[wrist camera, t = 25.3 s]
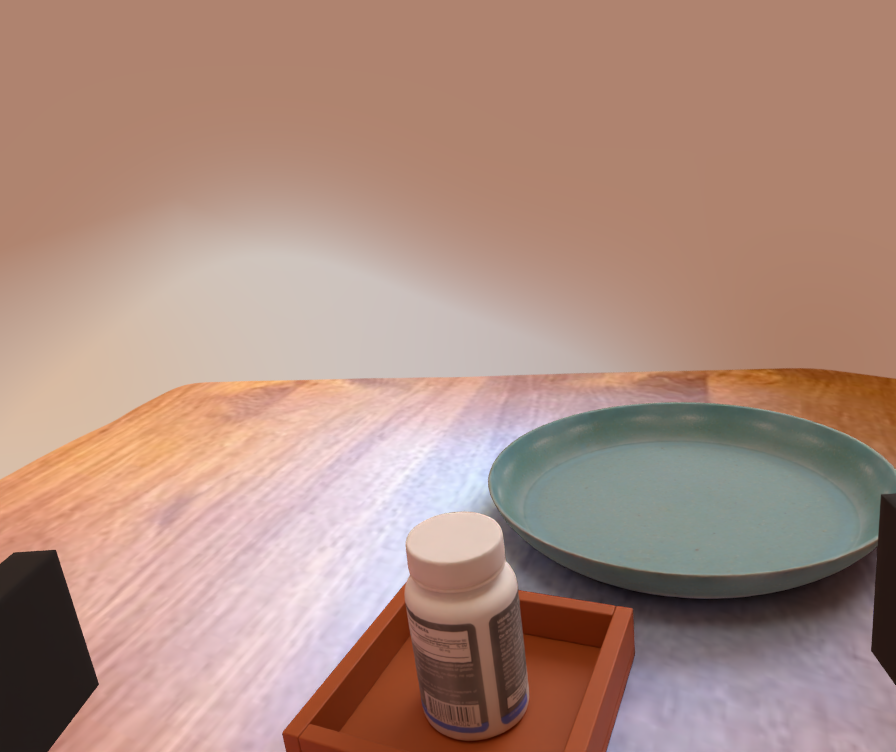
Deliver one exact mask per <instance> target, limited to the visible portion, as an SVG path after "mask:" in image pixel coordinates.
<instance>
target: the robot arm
mask: <svg viewBox="0 0 896 752" xmlns="http://www.w3.org/2000/svg"><path fill="white" fill-rule="evenodd" d="M871 651H872V652H873V654H874V655H875V657H876V658H877V660H878V661H879V662H880V664H881V665H882V667H883V668H884V669H885V671H886V672H887V674H888V675H889V677H890V678H891V679H892V681H893V682H894V684H895V685H896V493H893V494H881V500H880V516H879V533H878V549H877V565H876V581H875V597H874V614H873V630H872V646H871ZM98 685H99V683H98V680H97V677H96V674H95V671H94V668H93V664H92V661H91V658H90V655H89V652H88V649H87V646H86V643H85V639H84V636H83V633H82V630H81V627H80V624H79V621H78V618H77V615H76V611H75V608H74V605H73V602H72V599H71V596H70V593H69V590H68V587H67V583H66V580H65V577H64V574H63V571H62V568H61V565H60V562H59V558H58V555H57V552H56V550H46V551H31V552H16V553H13V554H12V555H10V556H9V557H8V558H7V559H6V560H4V561H3V562H2V563H1V564H0V752H48V751H49V749H50V748H51V747H52V745H53V744H54V743H55V741H56V740H57V739H58V738H59V736H60V735H61V734H62V732H63V731H64V730H65V728H66V727H67V726H68V724H69V723H70V722H71V720H72V719H73V718H74V716H75V715H76V714H77V713H78V711H79V710H80V709H81V707H82V706H83V705H84V703H85V702H86V701H87V699H88V698H89V697H90V695H91V694H92V693H93V691H94V690H95V689H96V688H97V686H98Z"/></svg>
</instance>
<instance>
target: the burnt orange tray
mask: <svg viewBox="0 0 896 752" xmlns="http://www.w3.org/2000/svg"><path fill="white" fill-rule="evenodd" d="M405 585H406V583H405V584H404V586H403V587H402V588H401V589H400V590H399V592H398V593H397V594H396V595H395V596H394V598H393V599H392V600H391V601H390V603H389V604H388V605H387V606H386V607H385V609H384V610H383V611H382V612H381V613H380V615H379V616H378V617H377V618H376V620H375V621H374V622H373V623H372V624H371V626H370V627H369V628H368V629H367V630H366V632H365V633H364V634H363V635H362V637H361V638H360V639H359V640H358V641H357V643H356V644H355V645H354V646H353V647H352V649H351V650H350V651H349V652H348V653H347V655H346V656H345V657H344V658H343V660H342V661H341V662H340V663H339V664H338V666H337V667H336V668H335V669H334V670H333V672H332V673H331V674H330V675H329V677H328V678H327V679H326V680H325V681H324V683H323V684H322V685H321V686H320V687H319V689H318V690H317V691H316V692H315V694H314V695H313V696H312V697H311V698H310V700H309V701H308V702H307V703H306V704H305V706H304V707H303V708H302V709H301V711H300V712H299V713H298V714H297V715H296V717H295V718H294V719H293V720H292V721H291V723H290V724H289V725H288V726H287V727H286V729H285V730H284V731H283V733H282V735H283V739H284V743H285V748H286V752H606V750H607V746H608V743H609V740H610V736H611V733H612V730H613V726H614V723H615V720H616V716H617V713H618V709H619V706H620V703H621V699H622V696H623V693H624V689H625V686H626V683H627V679H628V676H629V673H630V669H631V666H632V663H633V659H634V656H635V645H634V643H635V642H634V620H633V609H632V608H628V607H621V606H616V607H615V606H614V605H609V604H602V603H596V602H590V601H583V600H577V599H571V598H565V597H558V596H552V595H546V594H540V593H533V592H527V591H521V590H518V593H519V599H520V612H521V622H522V630H523V639H524V647H525V657H526V666H527V675H528V685H529V702H528V706H527V709H526V711H525V713H524V715H523V717H522V718H521V720H520V721H519V722H518V723H517V724H516V725H514V726H513V727H512V728H510V729H509V730H507V731H505V732H504V733H501V734H499V735H497V736H494V737H491V738H488V739H483V740H476V741H464V740H458V739H454V738H451V737H448V736H446V735H444V734H442V733H440V732H438V731H437V730H436V729H435V728H434V727H433V726H432V725H431V724H430V722H429V721H428V719H427V718H426V715H425V713H424V710H423V706H422V701H421V694H420V688H419V682H418V677H417V670H416V665H415V658H414V652H413V646H412V640H411V635H410V629H409V622H408V616H407V610H406V604H405V597H404V596H405Z"/></svg>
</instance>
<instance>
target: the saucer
mask: <svg viewBox="0 0 896 752" xmlns="http://www.w3.org/2000/svg"><path fill="white" fill-rule="evenodd" d="M488 486H489V491H490V495H491V497H492V499H493V502H494V503H495V505H496V507H497V509H498V510H499V512H500V514H501V515H502V516H503V518H504V519H505V521H506V522H507V523H508V524H509V525H510V526H511V527H512V529H513V530H514V531H515V532H516V533H517V534H518V535H519V536H521V537H522V538H523V539H524V540H525V541H526V542H528V543H529V544H530V545H531V546H532V547H534V548H535V549H536V550H538V551H539V552H541V553H542V554H544V555H545V556H547V557H548V558H550V559H552V560H553V561H555V562H557V563H559V564H561V565H563V566H564V567H566V568H568V569H571V570H573V571H575V572H577V573H580V574H582V575H584V576H587V577H589V578H592V579H595V580H598V581H600V582H603V583H607V584H610V585H613V586H617V587H620V588H625V589H629V590H633V591H637V592H643V593H648V594H654V595H661V596H670V597H681V598H701V599H716V598H738V597H748V596H755V595H762V594H769V593H774V592H778V591H783V590H788V589H791V588H795V587H799V586H802V585H805V584H808V583H811V582H814V581H817V580H820V579H822V578H825V577H828V576H830V575H833V574H835V573H837V572H839V571H841V570H843V569H845V568H847V567H848V566H850V565H852V564H853V563H855V562H857V561H858V560H860V559H861V558H863V557H864V556H866V555H867V554H868V553H870V552H871V551H872V550H874V549H875V548H876V547H877V546H878V533H879V516H880V500H881V494H893V493H896V469H895V468H894V467H893V466H892V465H891V464H890V463H889V462H888V461H887V460H886V459H885V458H884V457H883V456H882V455H881V454H879V453H878V452H877V451H875V450H874V449H872V448H871V447H869V446H867V445H866V444H864V443H862V442H860V441H859V440H857V439H855V438H853V437H851V436H849V435H847V434H845V433H843V432H840V431H838V430H835V429H833V428H830V427H827V426H824V425H822V424H819V423H816V422H813V421H809V420H806V419H803V418H799V417H796V416H792V415H788V414H783V413H779V412H774V411H768V410H763V409H757V408H751V407H744V406H736V405H726V404H715V403H696V402H680V403H678V402H665V403H645V404H632V405H624V406H616V407H609V408H603V409H598V410H593V411H588V412H584V413H580V414H576V415H572V416H569V417H565V418H562V419H559V420H556V421H553V422H551V423H548V424H546V425H543V426H541V427H538V428H536V429H534V430H532V431H530V432H528V433H526V434H524V435H523V436H521V437H519V438H518V439H516V440H515V441H514V442H512V443H511V444H510V445H509V446H508V447H506V448H505V449H504V450H503V451H502V452H501V453H500V454H499V456H498V457H497V459H496V460H495V461H494V463H493V465H492V468H491V470H490V473H489V477H488Z"/></svg>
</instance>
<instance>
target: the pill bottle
mask: <svg viewBox="0 0 896 752" xmlns="http://www.w3.org/2000/svg"><path fill="white" fill-rule="evenodd" d="M406 553H407V561H408V568H409V572H410V576H409V578H408V580H407V582H406V585H405V596H404V597H405V604H406V610H407V616H408V622H409V629H410V635H411V640H412V646H413V652H414V658H415V665H416V670H417V677H418V682H419V688H420V694H421V701H422V706H423V710H424V713H425V715H426V718H427V719H428V721H429V722H430V724H431V725H432V726H433V727H434V728H435V729H436V730H437V731H438V732H440V733H442V734H444V735H446V736H448V737H451V738H454V739H458V740H464V741H476V740H483V739H488V738H491V737H494V736H497V735H499V734H501V733H504V732H505V731H507V730H509V729H510V728H512V727H513V726H514V725H516V724H517V723H518V722H519V721H520V720H521V718H522V717H523V715H524V713H525V711H526V709H527V706H528V702H529V685H528V675H527V666H526V657H525V647H524V639H523V630H522V622H521V612H520V599H519V593H518V584H517V579H516V576H515V573H514V571H513V569H512V568H511V566H510V565H509V564H508V563H507V562H506V558H505V547H504V540H503V533H502V529H501V527H500V525H499V524H498V523H497V522H496V521H495V520H494V519H492V518H490V517H488V516H486V515H483V514H479V513H475V512H452V513H445V514H441V515H437V516H434V517H432V518H429V519H427V520H425V521H423V522H421V523H420V524H418V525H417V526H416V527H414V528H413V529H412V530H411V532H410V533H409V534H408V536H407V539H406Z"/></svg>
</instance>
